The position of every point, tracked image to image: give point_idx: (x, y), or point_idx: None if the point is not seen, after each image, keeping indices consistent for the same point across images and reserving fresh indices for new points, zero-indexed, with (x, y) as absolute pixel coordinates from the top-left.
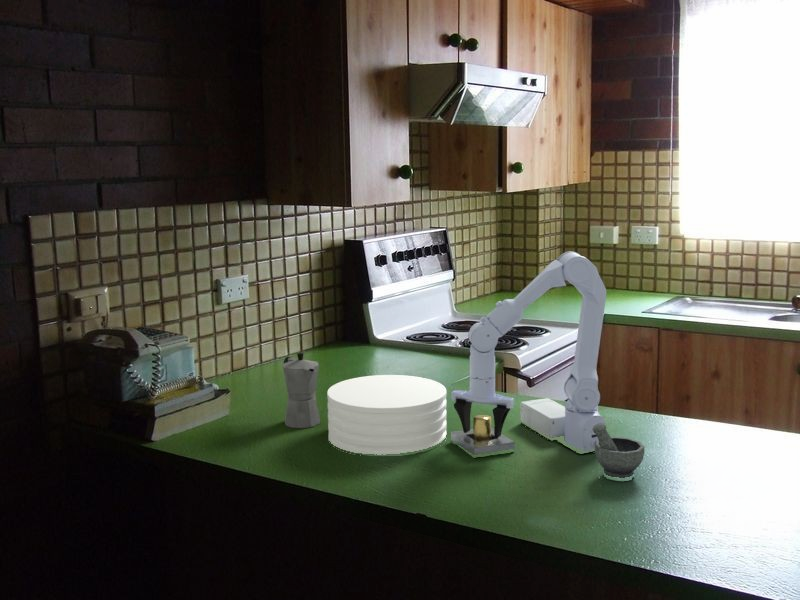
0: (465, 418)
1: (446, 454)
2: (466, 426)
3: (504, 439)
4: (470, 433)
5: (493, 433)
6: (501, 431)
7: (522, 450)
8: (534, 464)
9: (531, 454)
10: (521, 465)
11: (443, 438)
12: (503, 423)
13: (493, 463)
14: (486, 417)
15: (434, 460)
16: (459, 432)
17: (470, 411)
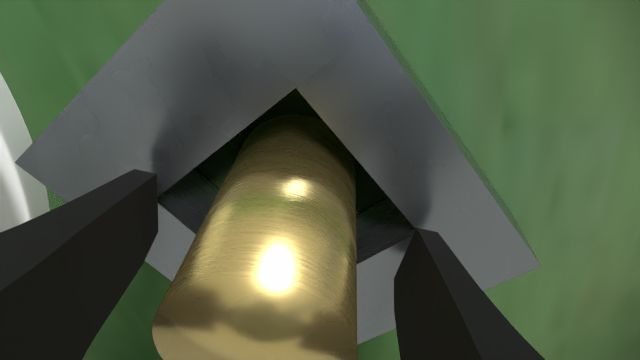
0: (83, 331)
1: (151, 293)
2: (132, 263)
3: (465, 238)
4: (175, 170)
5: (363, 130)
6: (452, 254)
7: (574, 170)
8: (604, 331)
9: (623, 221)
10: (533, 347)
11: (11, 160)
12: (493, 311)
13: (398, 345)
14: (300, 345)
15: (140, 350)
16: (84, 166)
17: (31, 272)
